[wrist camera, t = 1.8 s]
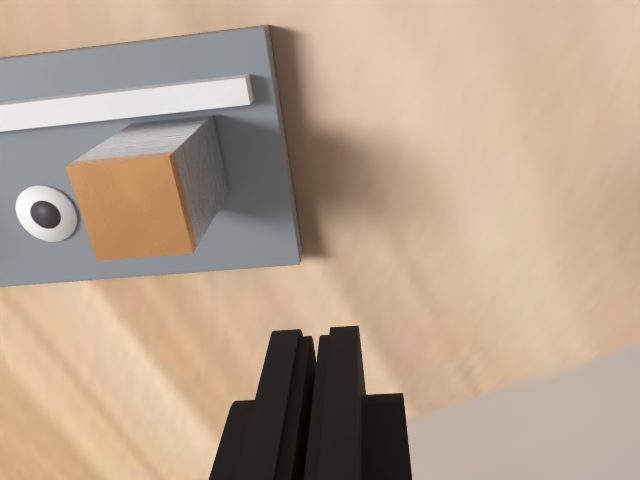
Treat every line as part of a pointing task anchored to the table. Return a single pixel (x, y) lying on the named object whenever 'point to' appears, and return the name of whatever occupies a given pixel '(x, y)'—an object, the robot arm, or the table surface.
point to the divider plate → (132, 107)
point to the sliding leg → (151, 188)
